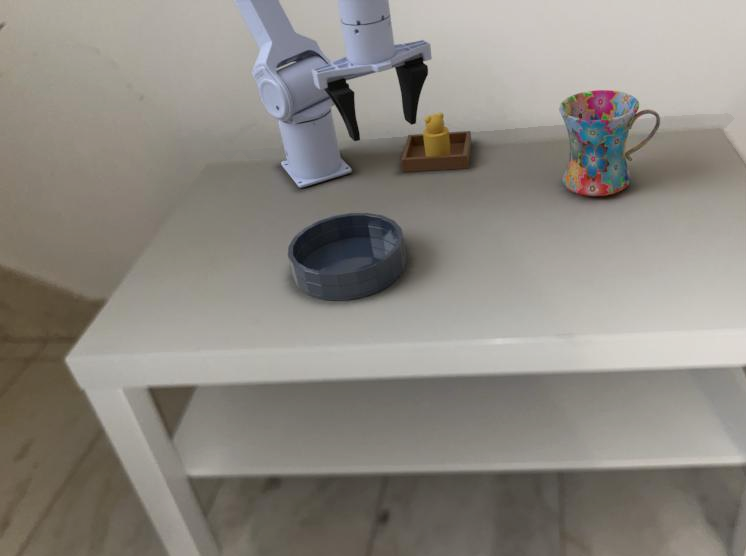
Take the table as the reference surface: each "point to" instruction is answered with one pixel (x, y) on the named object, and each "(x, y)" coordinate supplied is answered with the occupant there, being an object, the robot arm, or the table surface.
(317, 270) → the bowl
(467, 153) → the tray
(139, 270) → the table surface
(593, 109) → the mug
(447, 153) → the toy
